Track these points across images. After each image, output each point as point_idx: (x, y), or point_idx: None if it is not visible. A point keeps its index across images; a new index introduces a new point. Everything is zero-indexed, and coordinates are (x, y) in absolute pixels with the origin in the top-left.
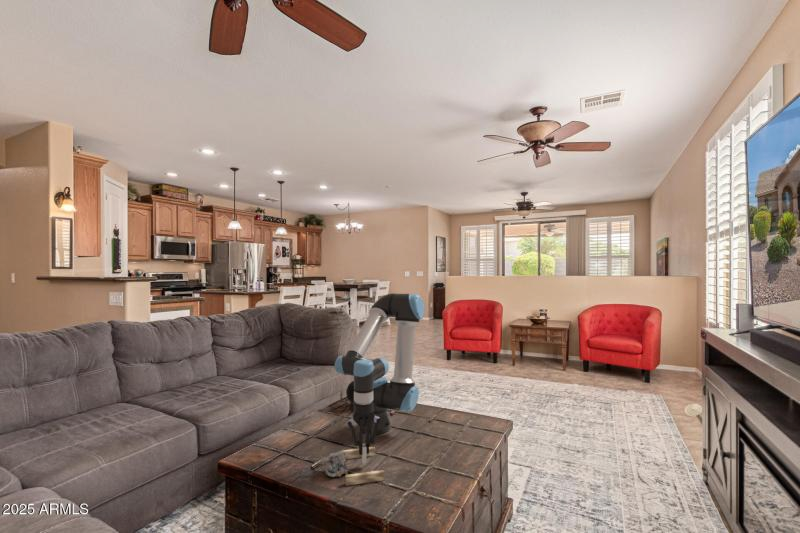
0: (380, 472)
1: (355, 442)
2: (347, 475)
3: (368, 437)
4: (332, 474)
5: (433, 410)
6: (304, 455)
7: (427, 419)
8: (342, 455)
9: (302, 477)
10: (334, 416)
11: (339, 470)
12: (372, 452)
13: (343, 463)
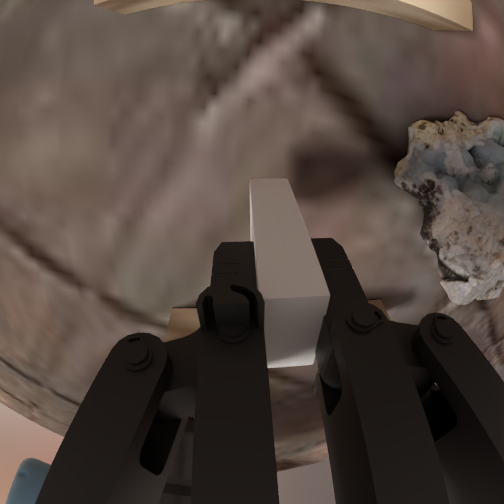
0: None
1: (469, 357)
2: (461, 15)
3: (213, 471)
4: (501, 129)
5: (46, 425)
6: (470, 334)
7: (43, 411)
8: (472, 256)
9: None
10: (294, 457)
11: (468, 150)
12: (186, 324)
13: (448, 200)
